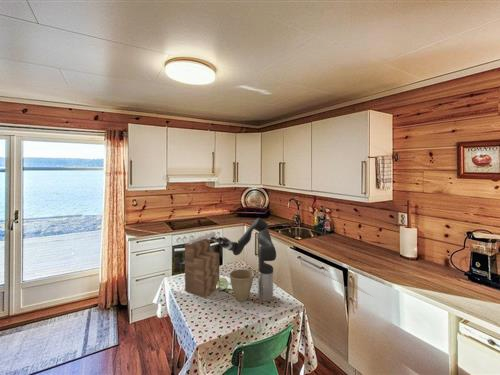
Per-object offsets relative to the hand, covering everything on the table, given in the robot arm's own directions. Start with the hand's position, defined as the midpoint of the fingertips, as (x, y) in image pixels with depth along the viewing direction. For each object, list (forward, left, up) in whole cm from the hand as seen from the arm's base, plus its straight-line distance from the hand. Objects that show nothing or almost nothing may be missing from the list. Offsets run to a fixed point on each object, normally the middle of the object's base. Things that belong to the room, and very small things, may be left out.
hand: (214, 237), depth 181 cm
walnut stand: (-15, +10, -31) cm, 36 cm away
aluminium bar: (-9, +9, +1) cm, 13 cm away
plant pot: (-33, -13, -31) cm, 47 cm away
